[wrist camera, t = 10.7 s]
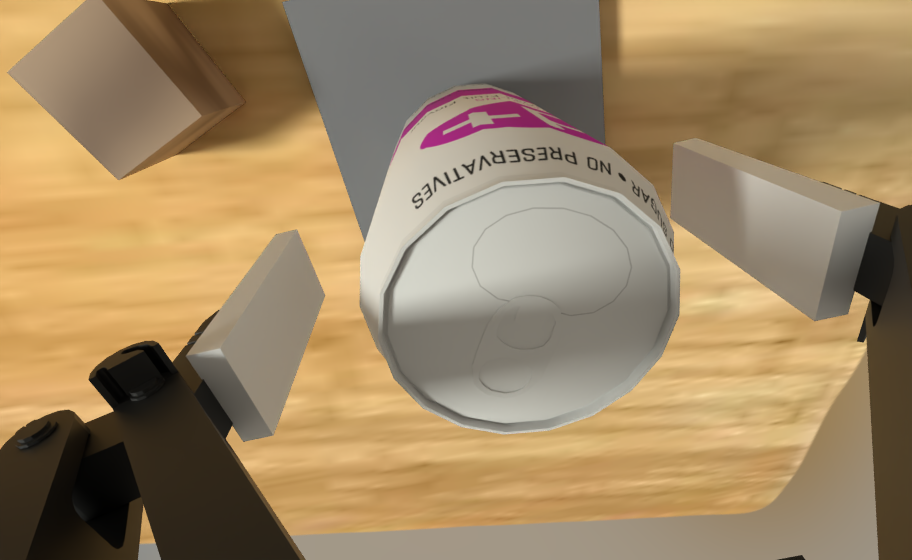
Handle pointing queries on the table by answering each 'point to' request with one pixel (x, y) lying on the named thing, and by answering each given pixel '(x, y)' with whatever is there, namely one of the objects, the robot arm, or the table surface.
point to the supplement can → (515, 266)
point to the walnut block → (127, 83)
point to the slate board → (439, 68)
